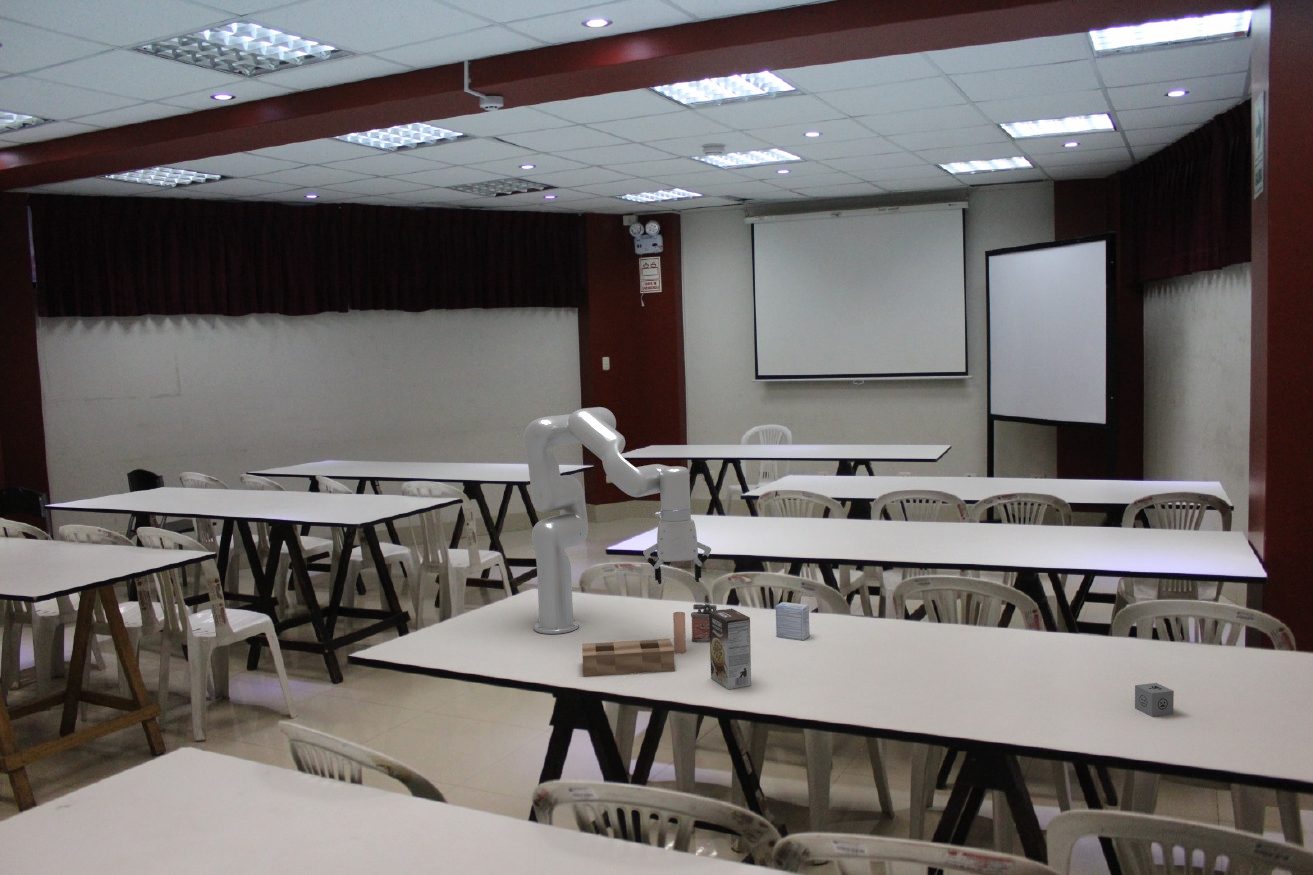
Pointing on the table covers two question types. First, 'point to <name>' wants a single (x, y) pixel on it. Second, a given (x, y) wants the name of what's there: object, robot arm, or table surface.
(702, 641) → the lighter
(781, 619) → the medicine box
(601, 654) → the hole block
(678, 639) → the peg
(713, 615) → the coffee box
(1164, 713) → the dice cube
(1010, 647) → the table surface
